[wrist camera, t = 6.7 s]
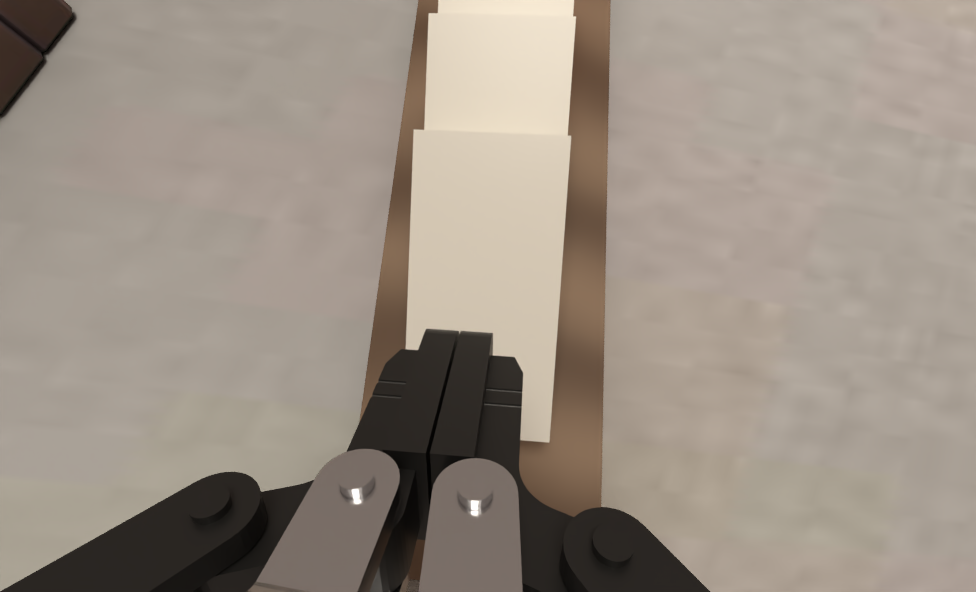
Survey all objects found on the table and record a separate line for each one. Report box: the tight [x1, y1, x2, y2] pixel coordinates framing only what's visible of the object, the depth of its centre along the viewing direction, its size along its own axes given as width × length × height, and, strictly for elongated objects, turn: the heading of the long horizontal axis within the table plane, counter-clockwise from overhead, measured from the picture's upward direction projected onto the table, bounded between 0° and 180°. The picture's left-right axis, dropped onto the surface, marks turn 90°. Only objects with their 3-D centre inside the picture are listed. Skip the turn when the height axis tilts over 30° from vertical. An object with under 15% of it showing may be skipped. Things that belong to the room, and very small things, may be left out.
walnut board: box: [359, 0, 610, 580], centre depth 21 cm, size 28×9×1 cm, turn 176°
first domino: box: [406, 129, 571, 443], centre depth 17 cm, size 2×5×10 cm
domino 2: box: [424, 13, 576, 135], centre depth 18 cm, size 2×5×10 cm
